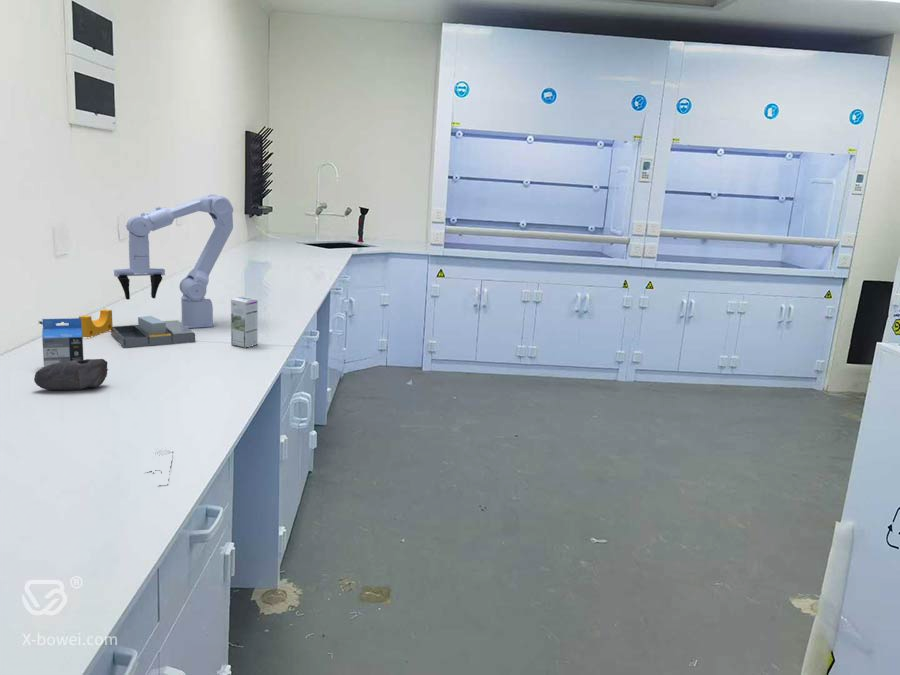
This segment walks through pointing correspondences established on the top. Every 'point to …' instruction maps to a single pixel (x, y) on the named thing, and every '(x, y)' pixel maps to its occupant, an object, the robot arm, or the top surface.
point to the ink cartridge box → (62, 341)
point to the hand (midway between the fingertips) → (140, 298)
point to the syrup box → (244, 321)
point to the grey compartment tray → (138, 338)
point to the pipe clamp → (96, 323)
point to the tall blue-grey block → (151, 325)
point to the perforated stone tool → (72, 375)
